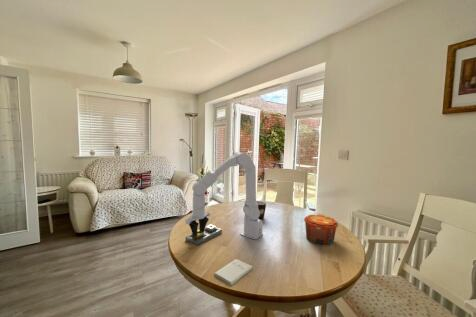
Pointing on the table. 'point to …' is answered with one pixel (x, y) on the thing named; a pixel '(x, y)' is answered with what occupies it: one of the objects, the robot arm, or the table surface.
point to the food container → (320, 229)
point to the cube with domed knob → (210, 228)
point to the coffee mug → (261, 209)
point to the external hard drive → (233, 271)
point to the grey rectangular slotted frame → (205, 238)
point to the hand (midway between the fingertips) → (198, 233)
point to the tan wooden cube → (198, 235)
